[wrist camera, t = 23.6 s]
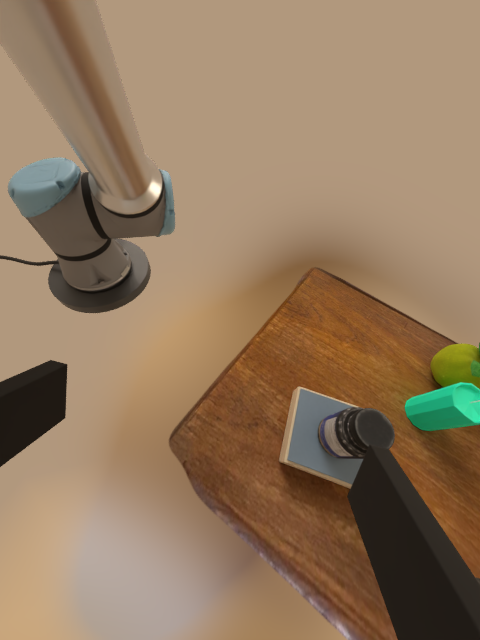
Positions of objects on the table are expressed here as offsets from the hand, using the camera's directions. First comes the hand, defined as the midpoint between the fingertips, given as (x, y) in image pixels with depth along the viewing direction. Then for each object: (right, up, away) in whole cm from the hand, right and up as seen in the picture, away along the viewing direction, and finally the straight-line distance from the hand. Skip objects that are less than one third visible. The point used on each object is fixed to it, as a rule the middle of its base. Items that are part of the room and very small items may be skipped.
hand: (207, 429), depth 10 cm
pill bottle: (+17, -14, +27) cm, 34 cm away
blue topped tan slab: (+16, -16, +30) cm, 38 cm away
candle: (+35, -13, +34) cm, 51 cm away
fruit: (+43, -7, +38) cm, 58 cm away
